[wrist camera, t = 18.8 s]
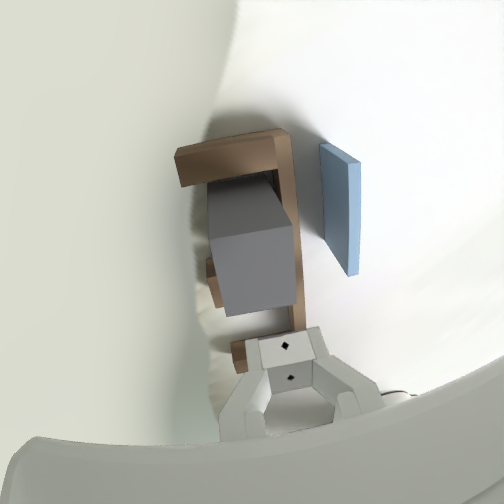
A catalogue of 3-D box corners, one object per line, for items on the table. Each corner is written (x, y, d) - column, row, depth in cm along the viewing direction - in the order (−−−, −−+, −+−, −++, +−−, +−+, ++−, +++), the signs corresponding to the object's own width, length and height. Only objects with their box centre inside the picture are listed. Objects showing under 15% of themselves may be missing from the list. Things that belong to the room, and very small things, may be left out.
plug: (270, 235, 24) (296, 303, 17) (219, 244, 24) (226, 317, 17) (264, 173, 21) (293, 225, 15) (207, 183, 21) (208, 239, 14)
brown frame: (332, 333, 31) (348, 369, 27) (234, 354, 31) (239, 394, 27) (328, 122, 20) (359, 137, 16) (177, 147, 20) (169, 168, 15)
